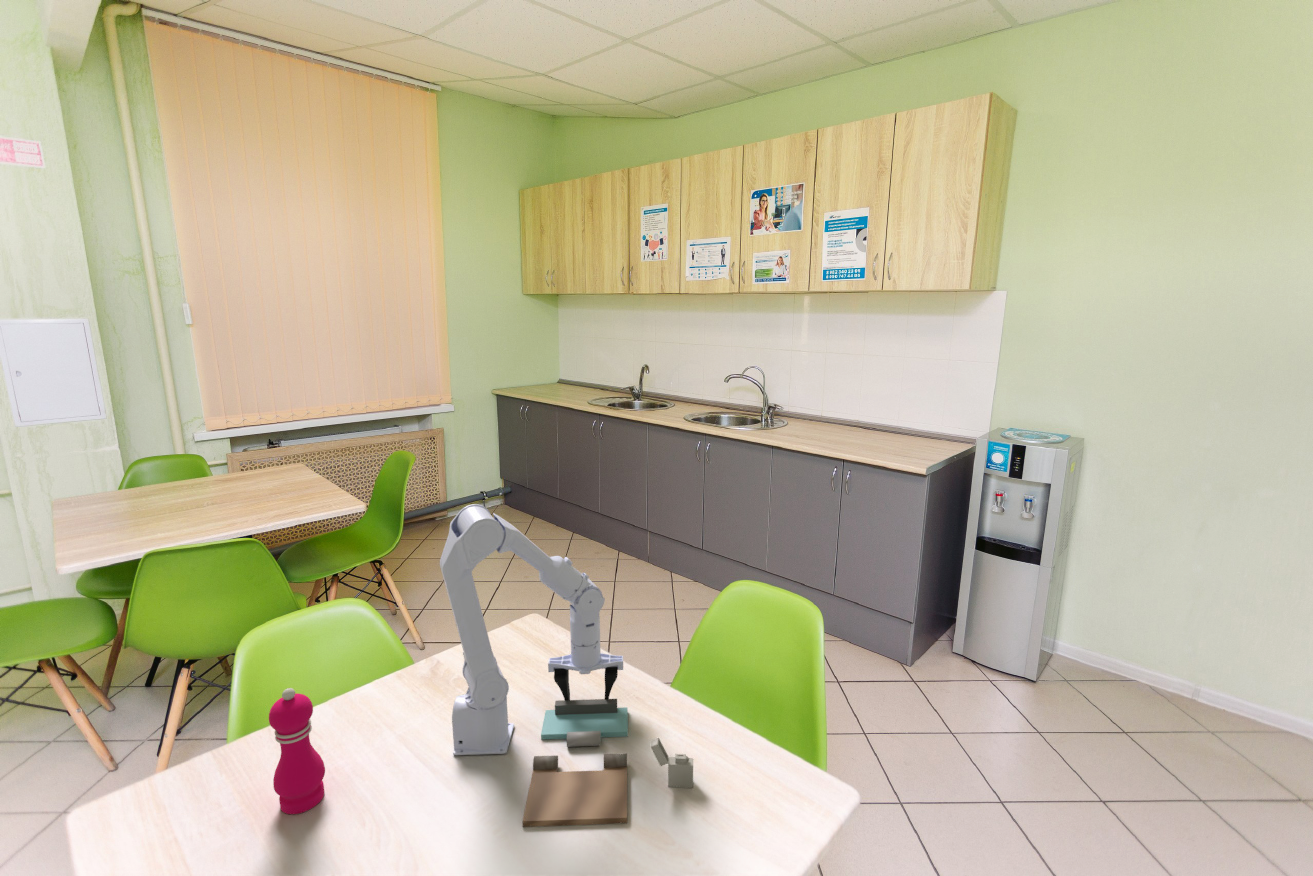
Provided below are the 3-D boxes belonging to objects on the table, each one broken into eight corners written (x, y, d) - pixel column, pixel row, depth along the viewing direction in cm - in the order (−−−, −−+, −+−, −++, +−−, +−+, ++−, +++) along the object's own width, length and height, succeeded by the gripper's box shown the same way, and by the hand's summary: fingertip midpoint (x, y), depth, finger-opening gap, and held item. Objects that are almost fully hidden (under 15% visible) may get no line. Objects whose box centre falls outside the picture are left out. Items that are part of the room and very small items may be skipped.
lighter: (693, 780, 105) (693, 738, 103) (692, 788, 103) (693, 745, 101) (651, 778, 105) (651, 736, 104) (650, 785, 104) (650, 743, 102)
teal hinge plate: (539, 750, 112) (538, 736, 111) (545, 714, 122) (545, 701, 121) (627, 747, 113) (627, 732, 112) (627, 711, 123) (627, 698, 122)
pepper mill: (275, 824, 96) (258, 708, 92) (278, 792, 102) (262, 683, 98) (327, 807, 99) (313, 695, 95) (327, 777, 105) (314, 671, 101)
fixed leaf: (522, 826, 95) (522, 813, 95) (535, 765, 108) (534, 753, 108) (627, 823, 96) (626, 810, 96) (627, 762, 109) (627, 750, 108)
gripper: (545, 651, 116) (547, 715, 119) (622, 649, 117) (623, 713, 120) (549, 632, 123) (552, 693, 126) (622, 630, 124) (623, 691, 126)
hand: (587, 701), depth 123 cm, fingers open, 7 cm apart
